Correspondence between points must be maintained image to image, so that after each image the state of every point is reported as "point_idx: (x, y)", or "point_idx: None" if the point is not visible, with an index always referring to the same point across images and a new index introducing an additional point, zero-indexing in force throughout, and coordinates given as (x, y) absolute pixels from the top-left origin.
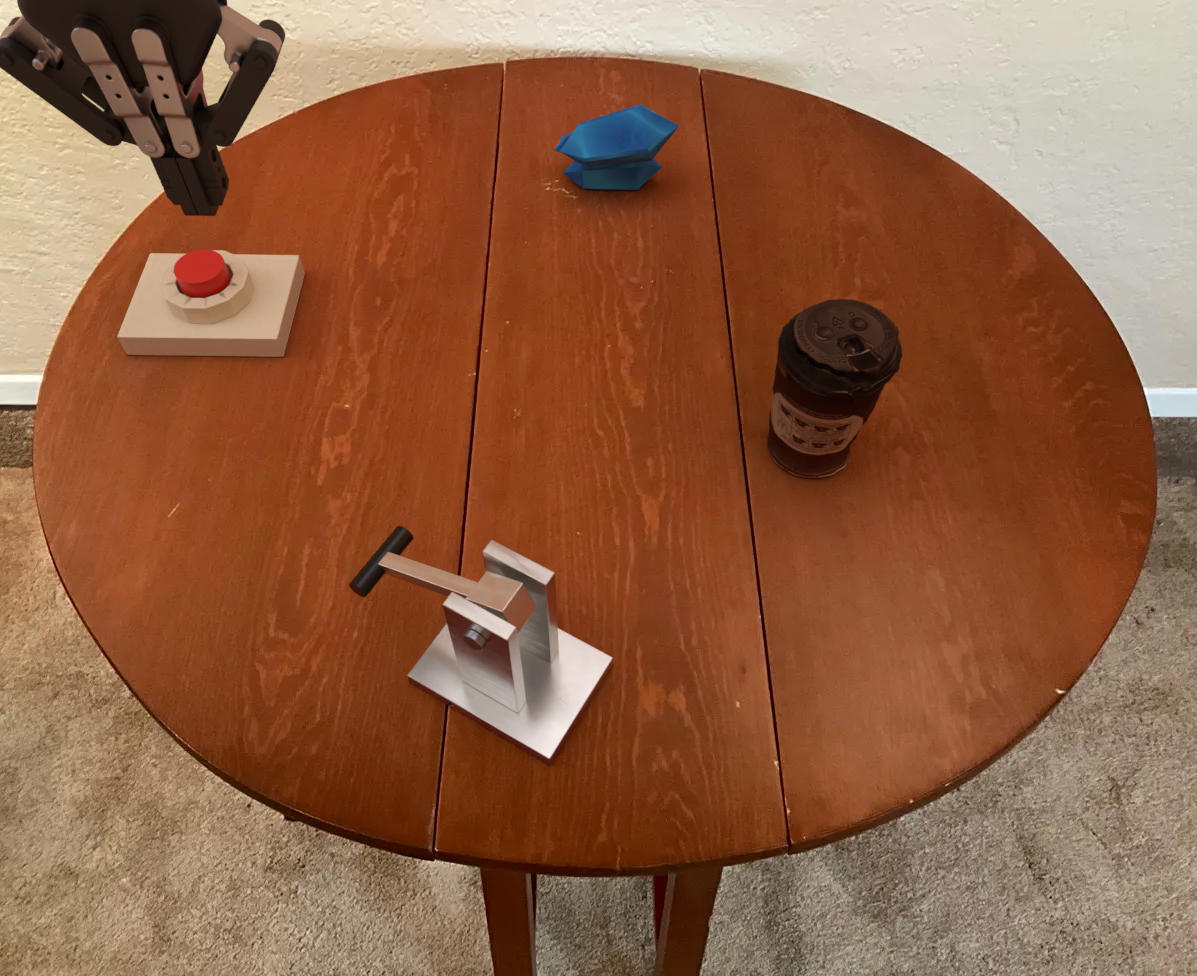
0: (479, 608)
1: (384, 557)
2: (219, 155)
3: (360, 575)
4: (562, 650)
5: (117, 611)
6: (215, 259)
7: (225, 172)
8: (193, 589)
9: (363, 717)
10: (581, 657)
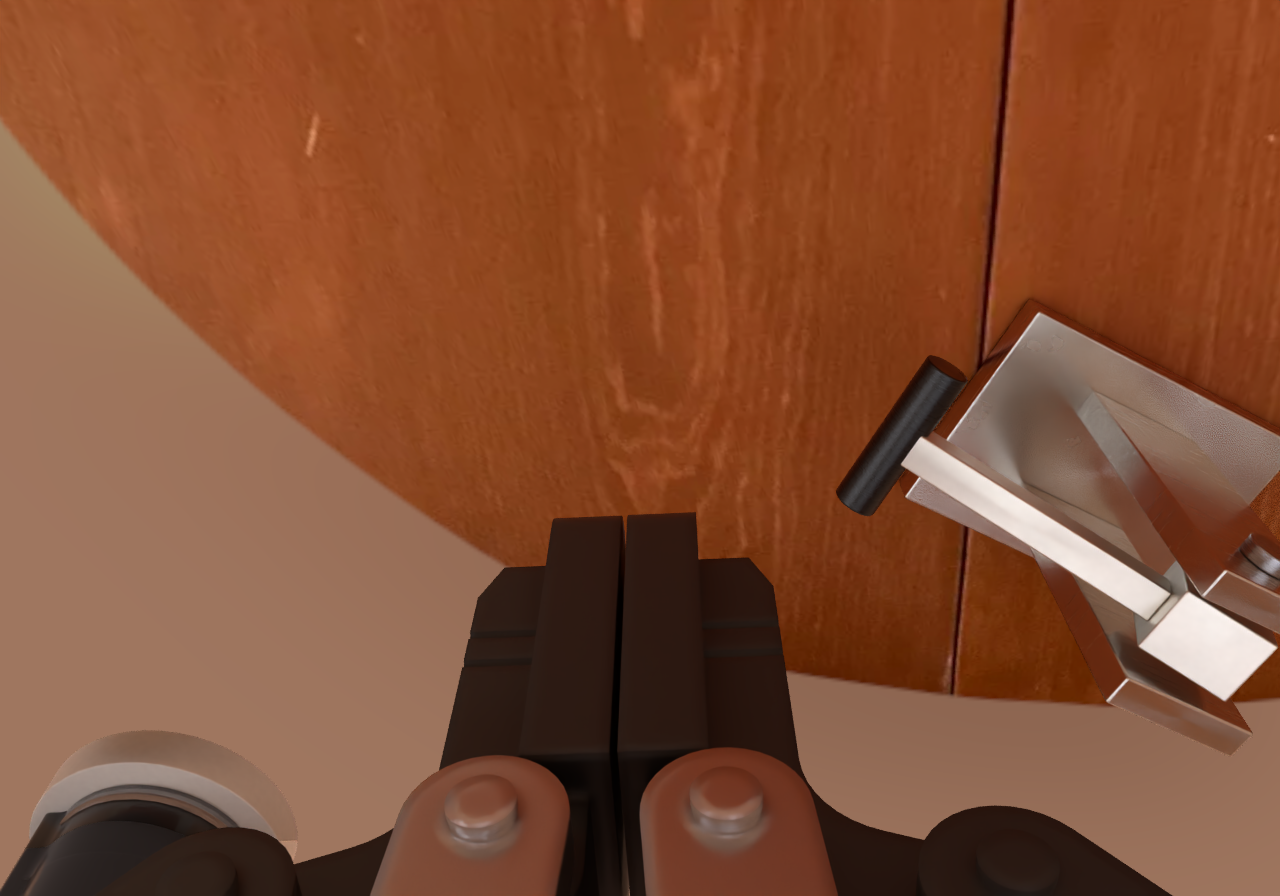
0: (1182, 705)
1: (913, 450)
2: (787, 695)
3: (866, 493)
4: (1203, 439)
5: (307, 379)
6: None
7: (777, 625)
8: (437, 325)
9: (822, 538)
10: (1238, 451)
